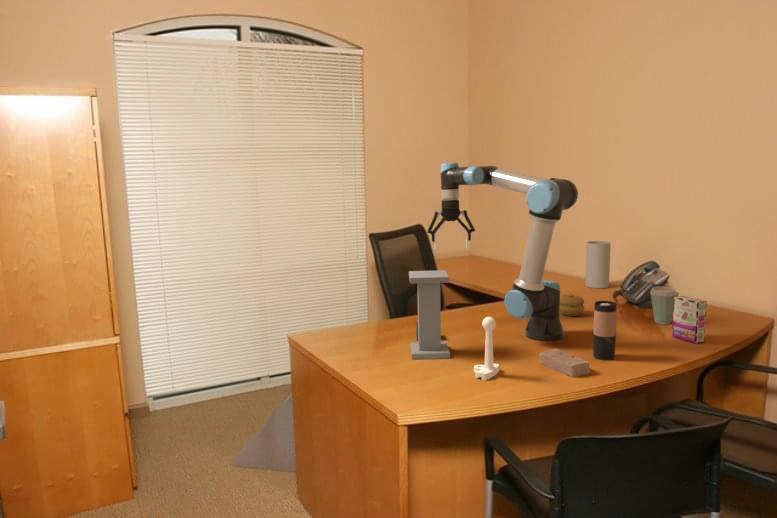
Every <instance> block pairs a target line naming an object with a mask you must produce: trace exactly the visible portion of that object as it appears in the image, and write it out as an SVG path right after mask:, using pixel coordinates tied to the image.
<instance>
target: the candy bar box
mask: <svg viewBox="0 0 777 518" xmlns="http://www.w3.org/2000/svg"><path fill="white" fill-rule="evenodd" d="M707 303H708V301H707V300H704V299H700V298H699V299H698V298H694V297H690V296H689V297H688V296H683V295H681V296H676V297H674V309H673V315H672V318H673V319H672V333H671V334H672V338H675V339H679V340H682V341H685V342H689V343H692V344H695V345H696V344H701V343H702V344H703V343H705V339H706V338H705V337H706V336H705V335H706V319H707V305H708V304H707Z"/></svg>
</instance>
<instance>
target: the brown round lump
mask: <svg viewBox="0 0 777 518" xmlns="http://www.w3.org/2000/svg"><path fill="white" fill-rule="evenodd" d="M584 304H585V300H584V299H583V297H581V296H580V295H576V294H573V293H569V294H564V295H560V311H559V314H562V315H564V316H567V317H576V316H577V317H578V316H579V315H581V314H582V313H583V312H584V310H585V306H584Z"/></svg>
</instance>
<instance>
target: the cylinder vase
mask: <svg viewBox="0 0 777 518" xmlns="http://www.w3.org/2000/svg"><path fill="white" fill-rule="evenodd" d="M611 244H612V243H611V242H610V241H604V240H603V241H602V240H592V241H590V240H589V241H586V254H585V286H586V287H587V288H588V289H589V288H590V289H597V290H598V289H607V288H609V287H610V274H611V273H610V271H611V269H610V268H611Z"/></svg>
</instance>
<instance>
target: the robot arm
mask: <svg viewBox="0 0 777 518" xmlns="http://www.w3.org/2000/svg"><path fill="white" fill-rule="evenodd" d="M439 174H440V185H441V189H440V190H441V193H440V195H441V196H440V197H441V199H442V200H441V210H440V211H434V215H433V218H432V219H431V222H430V225H429V226H428V229H427V233H428V234H430V235H431V242H432V243H434V250H435V251H436V250H438V245H437V241H438V240H437V234H436V233H437V232H438V231H439V229H440V228H441V227H442V226H443V224H444V223H445V221H446V222H456V221H457V222H458V223H459V224H460V225H461V227H462V228H463V229H464V230H465V231H466V232H465V249H469V242H470V241H471V240H472V237H471V236H472V233H473V232H475V231H476V229H475V226H474V225H473V223H472V221H471V220H470V218H469V215H468V211H467V210H465V209H464V210H460V200H459V199H460V186H476V185H477V186H478V185H489V186H493V187H498V188H501V189H505V190H510V191H514V192H518V193H522V194H526V196H525V199H526V200H525V203H526V204H527V208H529V210H528V215H529V217H530V218H531V221H530V225H529V230H528V235H527V240H526V244H525V249H524V252H523V258H522V262H521V267H520V272H519V276H518V278H516V279H514V280H513V284H512V289H511V290H509V291H508V292H507V293H505V296H504V306H505V308H506V310H507V313H508V314H509V315H510V316H511V317H513V318H515V319H518V320H523V319H528V321H527V324H526V326H525V329H524V330H525V331H524V332H525V333H524V336H526V337H527V338H529V339H532V340H534V341H535V340H536V341H543V342H544V341H545V342H546V341H547V342H549V341H557V340H561V339H563V338H564V333H565V332H564V329H563V325H562V322H561V319H560V297H561V286H560V285H561V284H560V283H559V282H558V281H556V280H549V279H543V276H544V272H545V269H546V264H547V260H548V256H549V251H550V246H551V243H552V238H553V234H554V230H555V225H556V224H557V222H560V221H561V218H562V213H563V211H566V210H569V209H570V208H572V207H573V206H575V204H576V203H577V201H578V197H579V190H578V187H577V186H576V184H575V183H574V182H572V181H571V180H569V179H566V178H565V179H564V178H555V177H551V178H549V179H548V178H542V177H539V176H534V175H531V174H526V173H522V172H521V173H520V172H516V171H512V170H507V169H503V168H499V167H498V166H494V165H486V166H485V165H484V166H483V165H480V166H479V165H477V166H475V165H474V166H473V165H471V166H462V167H460V166H459V163H458V162H443V163H441V165H440V173H439ZM440 215H441V216H442V218H441V219H440V221H439V222H438V223H437V225H436V226H435V223H436V221H437V219H438V217H439V216H440ZM460 215H461V216H462V217H464V219H465V220H466V223H467V225H468V227H469V228H470V229H469V228H468V227H467V225H466V224H465V223H464V222H463V221H462V220H461V218H460ZM434 226H435V227H434ZM433 227H434V228H433Z"/></svg>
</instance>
